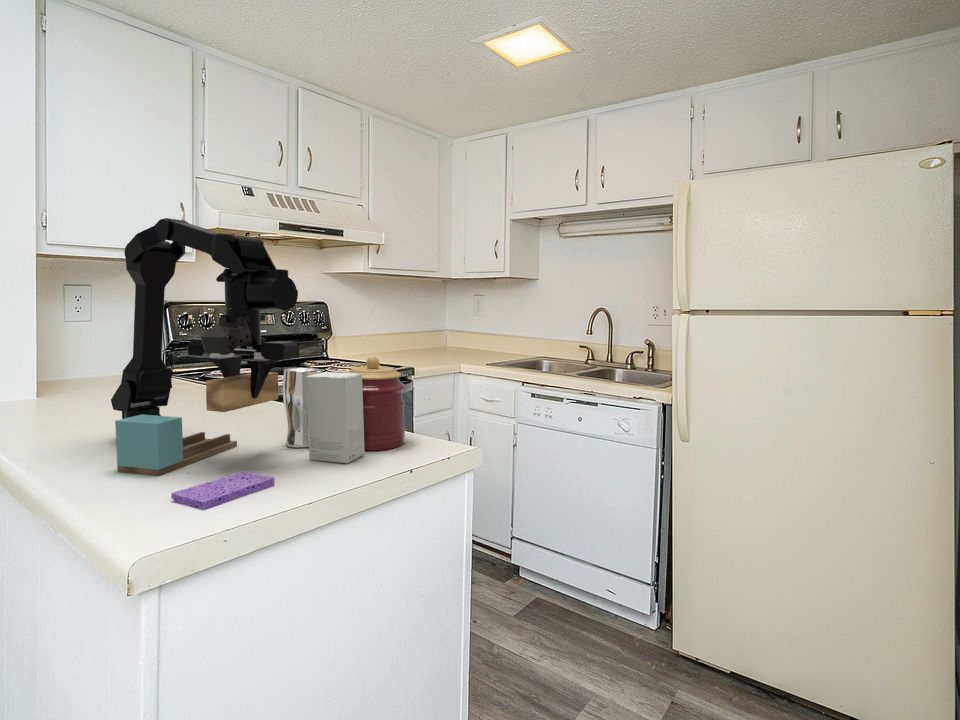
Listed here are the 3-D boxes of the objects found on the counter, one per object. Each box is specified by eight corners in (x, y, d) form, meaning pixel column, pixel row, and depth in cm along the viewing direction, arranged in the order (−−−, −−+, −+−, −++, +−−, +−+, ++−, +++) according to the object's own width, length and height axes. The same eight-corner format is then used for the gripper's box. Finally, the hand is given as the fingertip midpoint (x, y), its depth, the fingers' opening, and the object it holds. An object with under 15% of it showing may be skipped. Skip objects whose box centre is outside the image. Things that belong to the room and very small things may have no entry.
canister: (334, 438, 120) (334, 354, 118) (395, 434, 125) (396, 353, 123) (346, 454, 108) (345, 361, 106) (412, 448, 113) (413, 359, 112)
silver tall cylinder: (309, 449, 111) (309, 371, 109) (276, 447, 112) (275, 370, 111) (325, 441, 118) (325, 368, 116) (294, 439, 119) (293, 367, 117)
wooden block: (206, 410, 96) (205, 380, 95) (262, 397, 109) (262, 371, 109) (224, 412, 95) (223, 382, 94) (278, 399, 108) (278, 372, 108)
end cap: (117, 465, 95) (115, 420, 94) (143, 457, 100) (142, 414, 99) (158, 469, 93) (156, 424, 92) (183, 460, 98) (181, 417, 97)
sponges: (275, 488, 90) (275, 476, 89) (203, 513, 78) (202, 500, 78) (244, 481, 93) (243, 470, 93) (170, 504, 82) (170, 491, 82)
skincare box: (365, 456, 107) (365, 373, 106) (345, 465, 101) (345, 377, 100) (326, 451, 110) (326, 370, 108) (305, 460, 104) (304, 374, 102)
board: (117, 471, 95) (116, 456, 94) (201, 443, 114) (201, 430, 114) (158, 475, 93) (158, 460, 93) (237, 446, 112) (236, 433, 112)
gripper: (162, 307, 95) (165, 401, 96) (263, 311, 90) (264, 409, 92) (208, 307, 105) (210, 391, 107) (300, 310, 101) (301, 397, 103)
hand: (244, 397), depth 102 cm, fingers closed on wooden block, 4 cm apart
